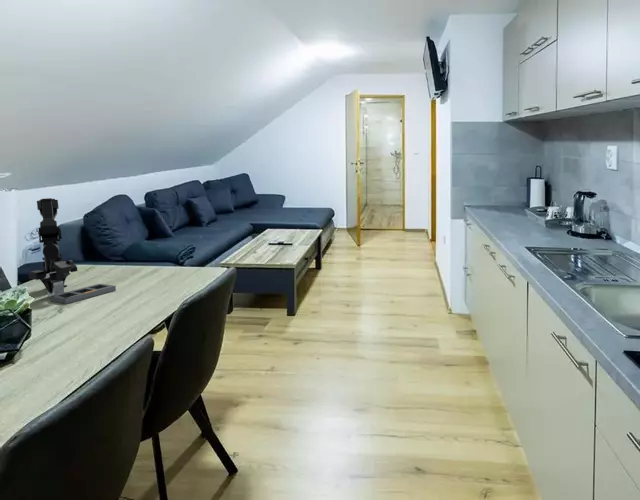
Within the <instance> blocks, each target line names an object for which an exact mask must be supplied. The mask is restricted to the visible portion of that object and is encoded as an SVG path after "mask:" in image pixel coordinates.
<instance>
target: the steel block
mask: <svg viewBox="0 0 640 500" xmlns="http://www.w3.org/2000/svg"><path fill="white" fill-rule="evenodd" d="M64 285H65V284H64ZM64 285H63V281H61V280H53V281H51V288H52V293H49V292H48V290H47V289H46V292H47V297H49V298H50V296H53V295H57V294H61V293H65V287H64Z"/></svg>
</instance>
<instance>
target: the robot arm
mask: <svg viewBox="0 0 640 500" xmlns="http://www.w3.org/2000/svg"><path fill="white" fill-rule="evenodd" d="M36 206H37V207H36V208H37V211H39V214H40V216H41V217H42V220H41V221H40V222H39V227H38V239H39V241H38V242H39V243H42V254H43V257H42V258H41V259H42V261H43V262H42V266H43V267H42V268H43V270H40V269H37V270H32V271H31V270H30V271H29V273H28V279H30V280H35V281H37V280H38V281H39V280H40V282H41V283H42V284H43V285H44V287H45V289H46V291H47V290H48V292H49V293H52V288H51V281H53V280H61V281H63V285H64V288H66V287H68V285H66V284H65V282H66V279H67V277H69V276H70V275H71V273H75V272H78V266H77V265H76V264H74V261H73V260H72V259H70V260H66V261H65V259H63V256H62V254H61V253H60V246H59V242H61V240H62V239H63V238H62V229H61V228H60V226H59V225H58V221H57V220H55V218H56V216H57V215H58V210H59V208H60V207H59V200H58V199H55V198H52V197H51V198H41V199H40V198H39V200H37V201H36ZM70 272H71V273H70ZM48 292H47V293H48Z"/></svg>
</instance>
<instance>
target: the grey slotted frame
mask: <svg viewBox="0 0 640 500" xmlns="http://www.w3.org/2000/svg"><path fill="white" fill-rule="evenodd" d="M116 287H117V286H116V285H113V284H112V285H111V284H106V283H105V284H104V283H97V284H94V285H93V284H92V285H89V286H85V287H81V288H78V289H73V290H68V291H64V293H61V294H57V295H53V296H50V297H49V302H53V303H58V304H64V305H68V304H71V303H75V302H79V301H81V300H86V299H90V298H93V297H98V296H100V295H104V294H107V293H111V292H115V291H117V288H116Z"/></svg>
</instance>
